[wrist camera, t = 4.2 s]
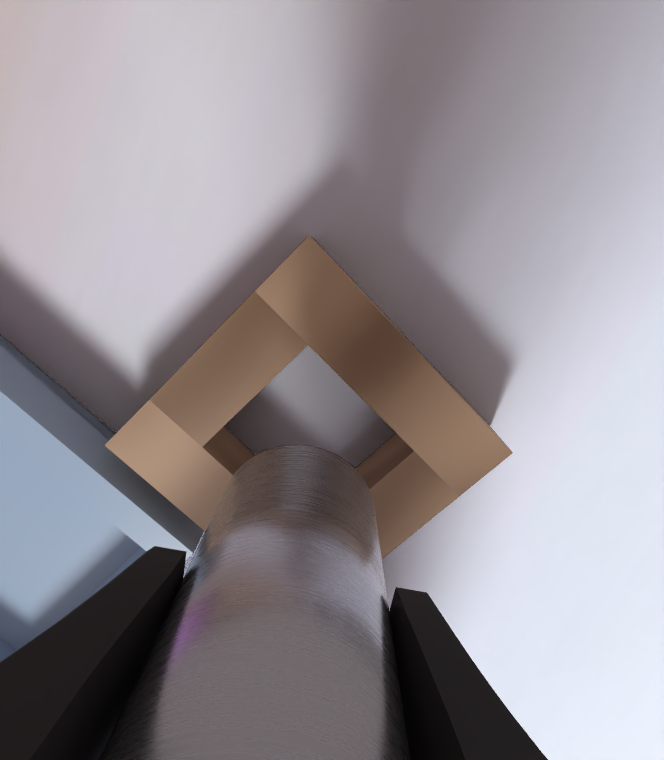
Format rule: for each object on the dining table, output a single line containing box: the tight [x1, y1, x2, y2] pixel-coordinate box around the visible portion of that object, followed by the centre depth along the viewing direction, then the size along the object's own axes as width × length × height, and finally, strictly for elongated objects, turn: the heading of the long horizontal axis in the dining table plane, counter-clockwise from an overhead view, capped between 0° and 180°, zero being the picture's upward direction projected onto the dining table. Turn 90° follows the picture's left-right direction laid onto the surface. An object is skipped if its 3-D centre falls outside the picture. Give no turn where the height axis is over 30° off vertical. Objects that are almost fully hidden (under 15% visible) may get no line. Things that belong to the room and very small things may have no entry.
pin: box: [99, 445, 410, 760], centre depth 9 cm, size 4×4×8 cm
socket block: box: [105, 236, 512, 559], centre depth 18 cm, size 10×10×2 cm
